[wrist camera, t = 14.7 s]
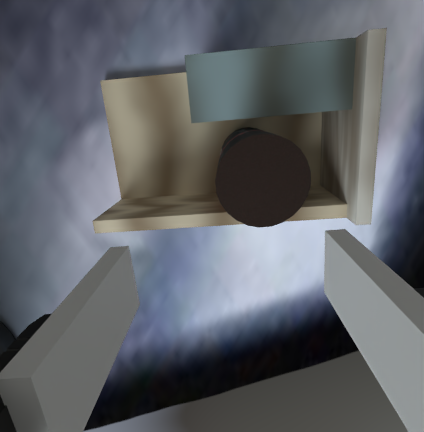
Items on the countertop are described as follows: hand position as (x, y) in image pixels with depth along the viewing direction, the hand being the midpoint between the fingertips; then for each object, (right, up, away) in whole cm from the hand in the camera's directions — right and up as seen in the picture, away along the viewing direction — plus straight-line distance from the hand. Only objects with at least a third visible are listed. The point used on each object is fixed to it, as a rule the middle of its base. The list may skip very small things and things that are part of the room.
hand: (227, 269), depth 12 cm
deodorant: (+3, +9, +21) cm, 23 cm away
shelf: (0, +11, +21) cm, 24 cm away
